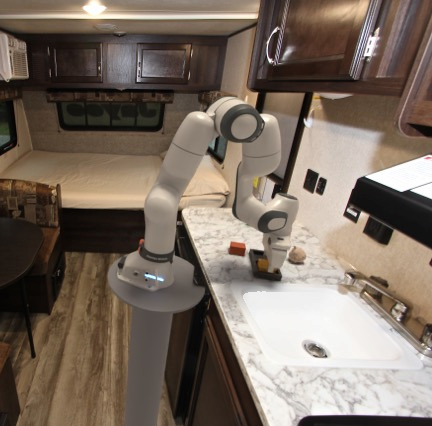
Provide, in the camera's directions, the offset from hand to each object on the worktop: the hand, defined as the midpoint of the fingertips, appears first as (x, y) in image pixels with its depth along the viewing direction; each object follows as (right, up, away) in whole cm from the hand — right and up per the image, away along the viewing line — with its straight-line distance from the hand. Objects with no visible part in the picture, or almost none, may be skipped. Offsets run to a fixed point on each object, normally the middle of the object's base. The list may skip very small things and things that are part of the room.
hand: (267, 264), depth 116 cm
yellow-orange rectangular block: (0, -3, +1) cm, 3 cm away
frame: (+1, -2, +5) cm, 6 cm away
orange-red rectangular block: (-6, +3, +15) cm, 16 cm away
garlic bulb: (+17, 0, +10) cm, 20 cm away
